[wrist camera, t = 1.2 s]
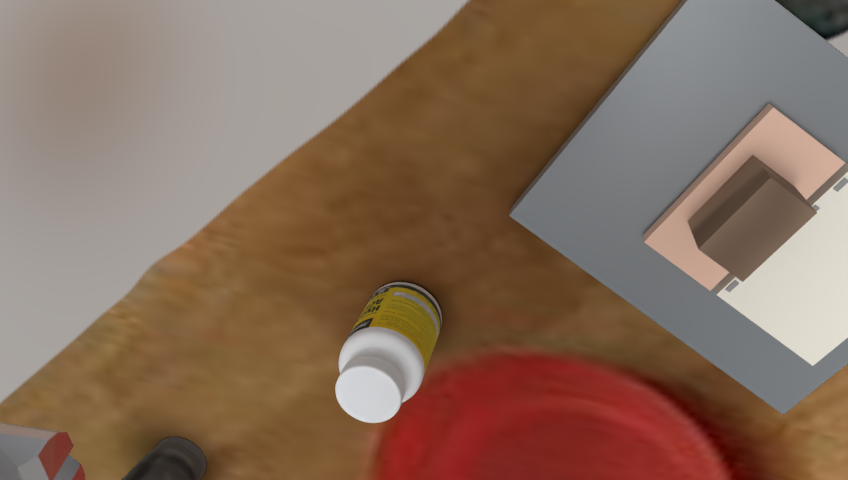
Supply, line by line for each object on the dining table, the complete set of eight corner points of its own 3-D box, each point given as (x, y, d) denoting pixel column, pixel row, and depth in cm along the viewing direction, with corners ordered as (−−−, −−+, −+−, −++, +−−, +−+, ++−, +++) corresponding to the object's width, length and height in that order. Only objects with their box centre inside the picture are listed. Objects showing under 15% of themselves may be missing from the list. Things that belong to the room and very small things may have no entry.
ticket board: (1025, 200, 40) (1053, 217, 37) (777, 400, 47) (787, 425, 45) (716, -43, 38) (726, -41, 36) (511, 207, 46) (507, 222, 43)
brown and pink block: (839, 157, 39) (873, 187, 35) (707, 283, 43) (722, 324, 39) (768, 103, 39) (794, 125, 34) (642, 235, 43) (650, 271, 39)
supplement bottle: (386, 265, 49) (345, 339, 40) (456, 302, 49) (430, 384, 40) (355, 324, 51) (310, 406, 43) (422, 359, 51) (390, 448, 43)
